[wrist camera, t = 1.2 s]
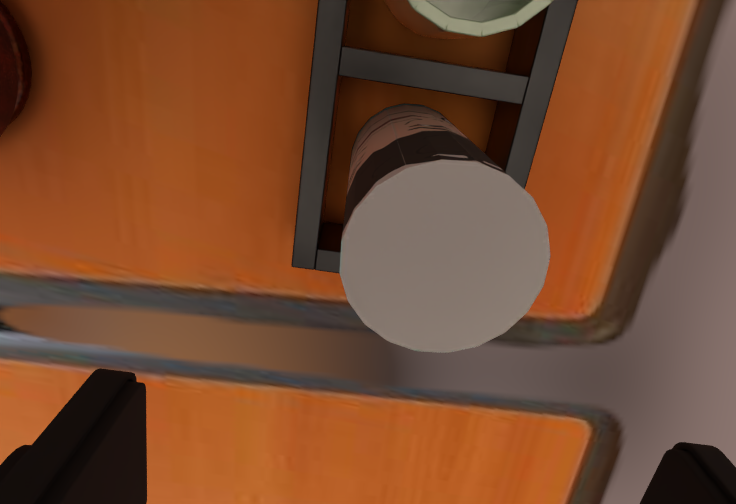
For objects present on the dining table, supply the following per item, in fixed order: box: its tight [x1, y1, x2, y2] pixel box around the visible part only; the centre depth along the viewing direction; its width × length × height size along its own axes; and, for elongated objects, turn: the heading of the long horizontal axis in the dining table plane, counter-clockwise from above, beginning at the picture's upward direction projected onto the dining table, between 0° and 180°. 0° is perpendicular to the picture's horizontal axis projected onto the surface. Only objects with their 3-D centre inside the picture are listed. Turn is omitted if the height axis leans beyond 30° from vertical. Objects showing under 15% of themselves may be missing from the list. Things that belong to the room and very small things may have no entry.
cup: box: [339, 103, 550, 353], centre depth 23 cm, size 7×7×15 cm
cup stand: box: [292, 0, 578, 273], centre depth 26 cm, size 12×22×4 cm, turn 171°
